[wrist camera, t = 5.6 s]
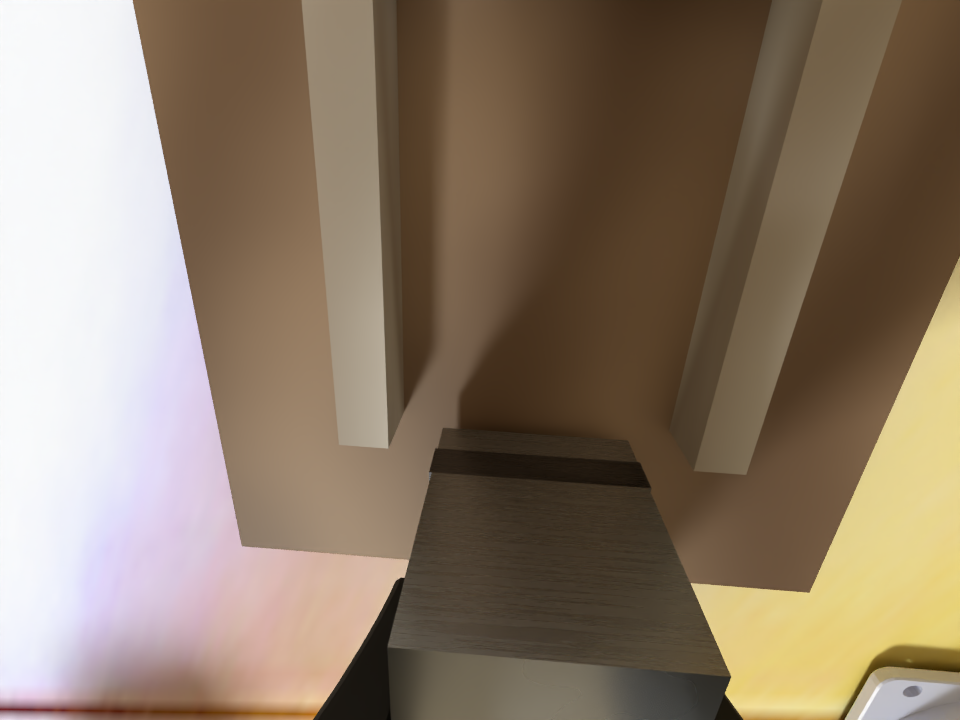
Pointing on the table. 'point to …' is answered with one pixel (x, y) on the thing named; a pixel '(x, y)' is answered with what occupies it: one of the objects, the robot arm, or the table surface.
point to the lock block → (547, 591)
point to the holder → (560, 248)
